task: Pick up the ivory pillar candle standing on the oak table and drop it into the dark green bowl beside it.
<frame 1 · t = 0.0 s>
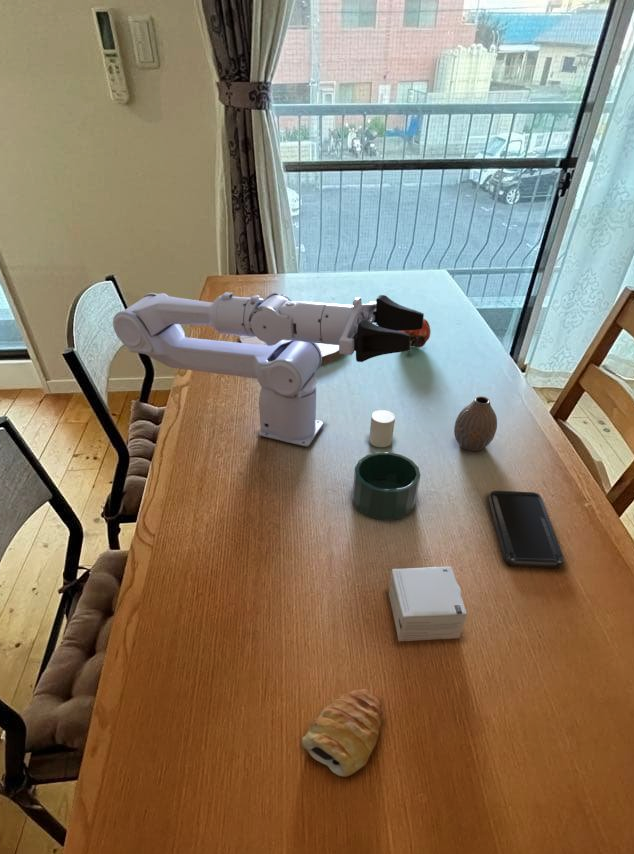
hand: (416, 331, 79), 22 cm above the table, tool horizontal, fingers open, 7 cm apart
candle: (380, 440, 98), on the table
pomegranate: (410, 348, 123), on the table
phone: (522, 530, 82), on the table
pastry: (342, 738, 59), on the table
small box: (422, 616, 70), on the table
vase: (470, 445, 97), on the table
dark green bowl: (383, 499, 86), on the table
trivet: (295, 342, 125), on the table
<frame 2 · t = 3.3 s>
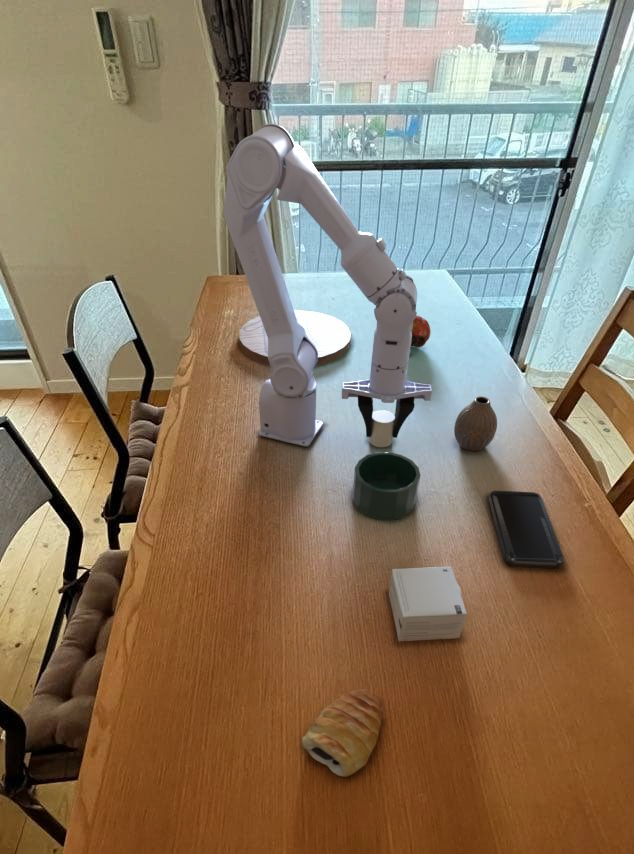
hand: (381, 434, 97), 1 cm above the table, tool pointing down, fingers closed on candle, 4 cm apart
candle: (380, 440, 98), on the table, touching gripper
everything else where it was.
when the fingers open (5 cm above the table, at t = 8.5 s): candle stays where it is, resting on dark green bowl.
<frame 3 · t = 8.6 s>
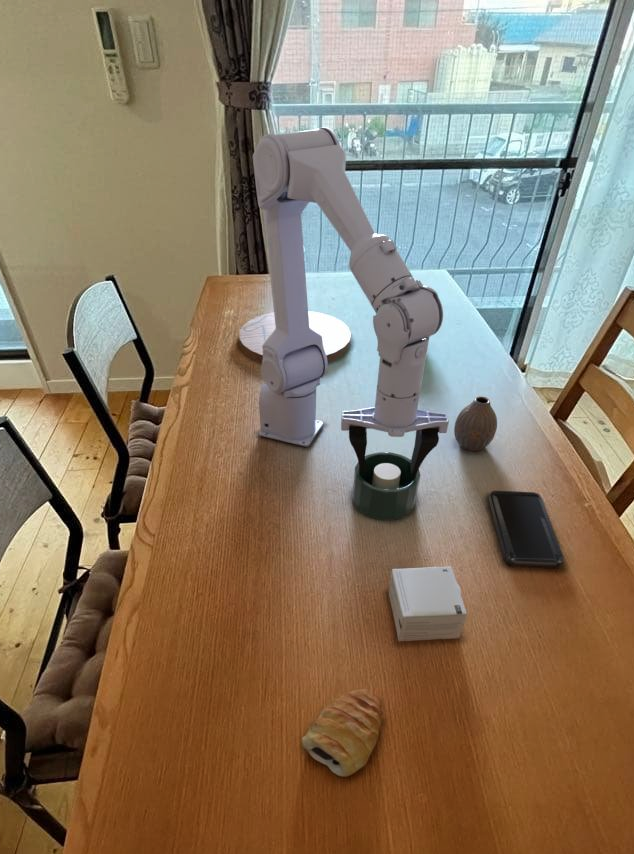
hand: (387, 469, 82), 6 cm above the table, tool pointing down, fingers open, 7 cm apart
candle: (383, 496, 86), resting on dark green bowl
everything else where it was.
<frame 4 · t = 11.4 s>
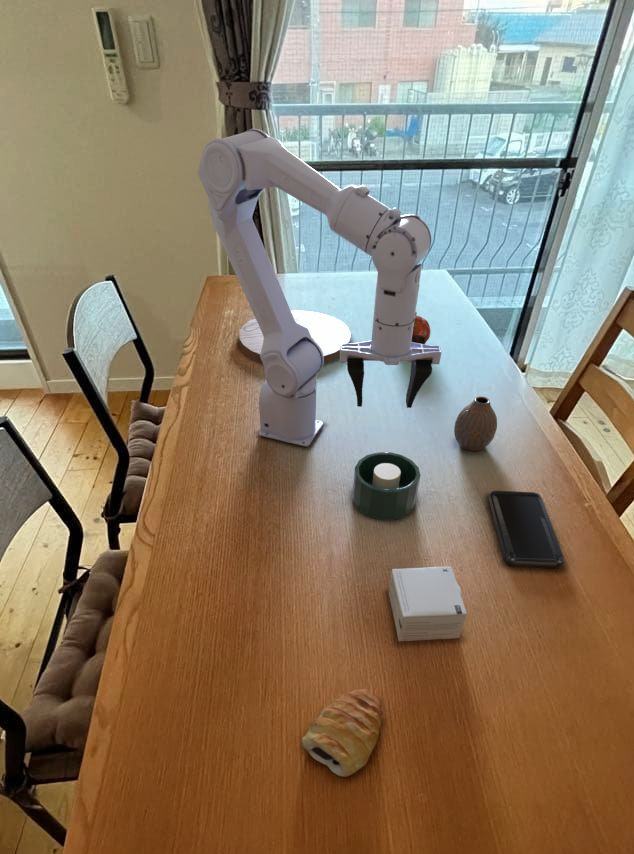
hand: (383, 403, 87), 10 cm above the table, tool pointing down, fingers open, 7 cm apart
nothing on the table moved.
at the end: candle 0.0 cm off-centre in the dark green bowl, point 0.5 cm above the dark green bowl's base; the gripper is holding nothing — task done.
